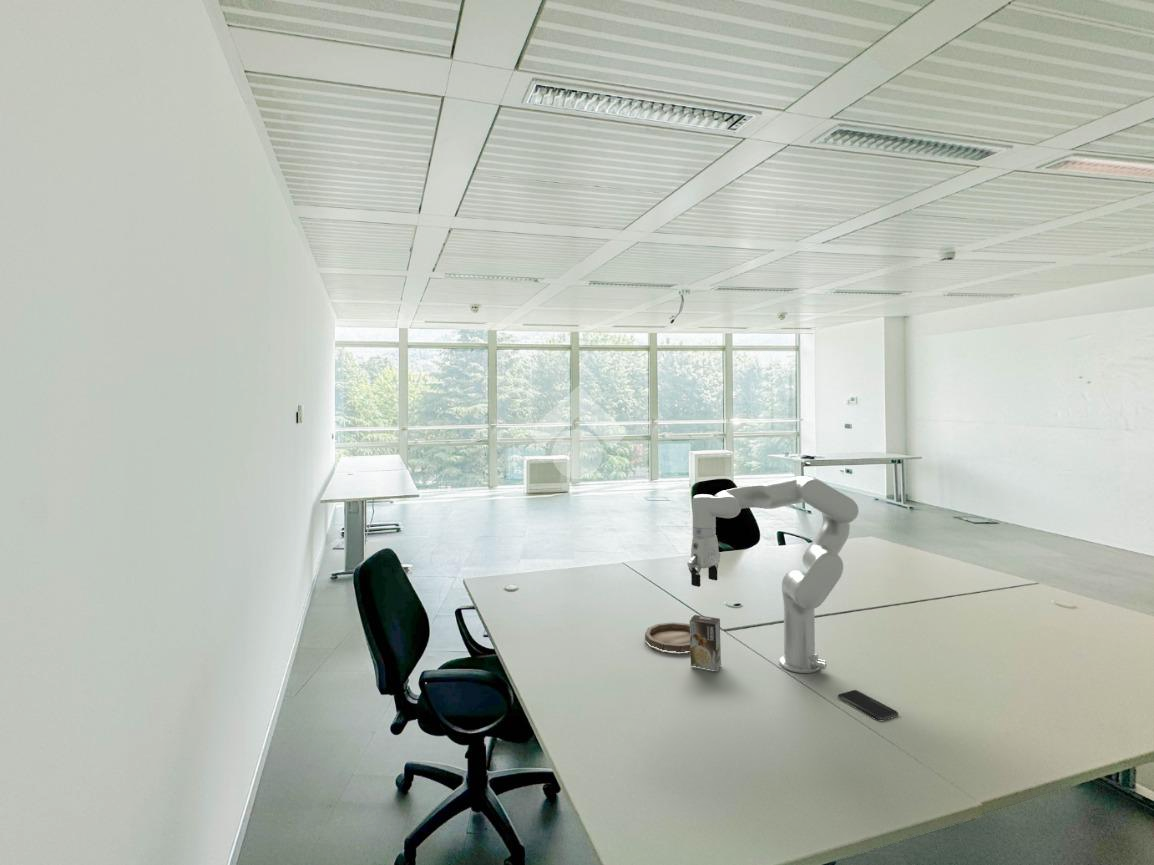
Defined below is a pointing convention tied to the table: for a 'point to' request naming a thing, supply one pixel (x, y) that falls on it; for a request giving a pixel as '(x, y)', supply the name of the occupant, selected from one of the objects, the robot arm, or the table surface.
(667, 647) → the round tray
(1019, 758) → the table surface
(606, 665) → the table surface
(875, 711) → the phone
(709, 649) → the coffee box
